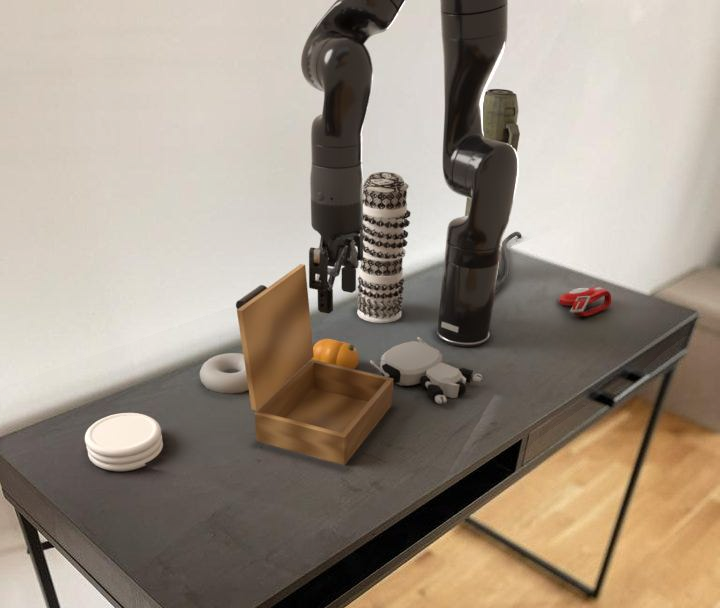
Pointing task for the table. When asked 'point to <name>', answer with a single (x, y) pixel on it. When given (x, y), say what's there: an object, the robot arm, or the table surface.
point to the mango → (336, 353)
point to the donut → (225, 374)
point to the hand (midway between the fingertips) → (337, 301)
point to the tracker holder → (585, 300)
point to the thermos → (499, 122)
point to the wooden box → (324, 411)
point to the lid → (275, 334)
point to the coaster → (123, 441)
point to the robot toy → (425, 370)
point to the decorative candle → (383, 247)
